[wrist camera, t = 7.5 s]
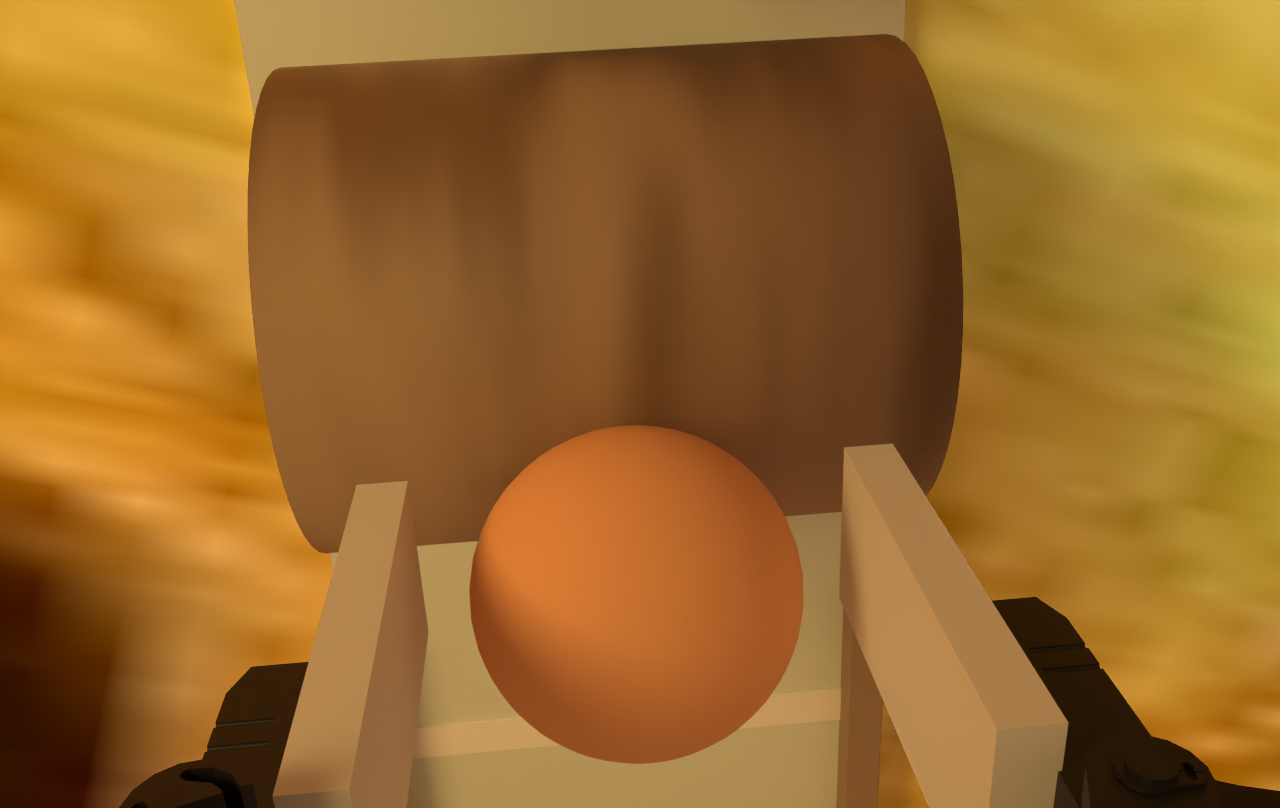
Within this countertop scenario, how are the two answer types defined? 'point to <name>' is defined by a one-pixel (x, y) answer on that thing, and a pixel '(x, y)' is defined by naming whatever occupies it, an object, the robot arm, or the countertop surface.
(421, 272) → the log
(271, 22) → the lane
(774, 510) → the ball
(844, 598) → the robot arm
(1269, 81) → the countertop surface
